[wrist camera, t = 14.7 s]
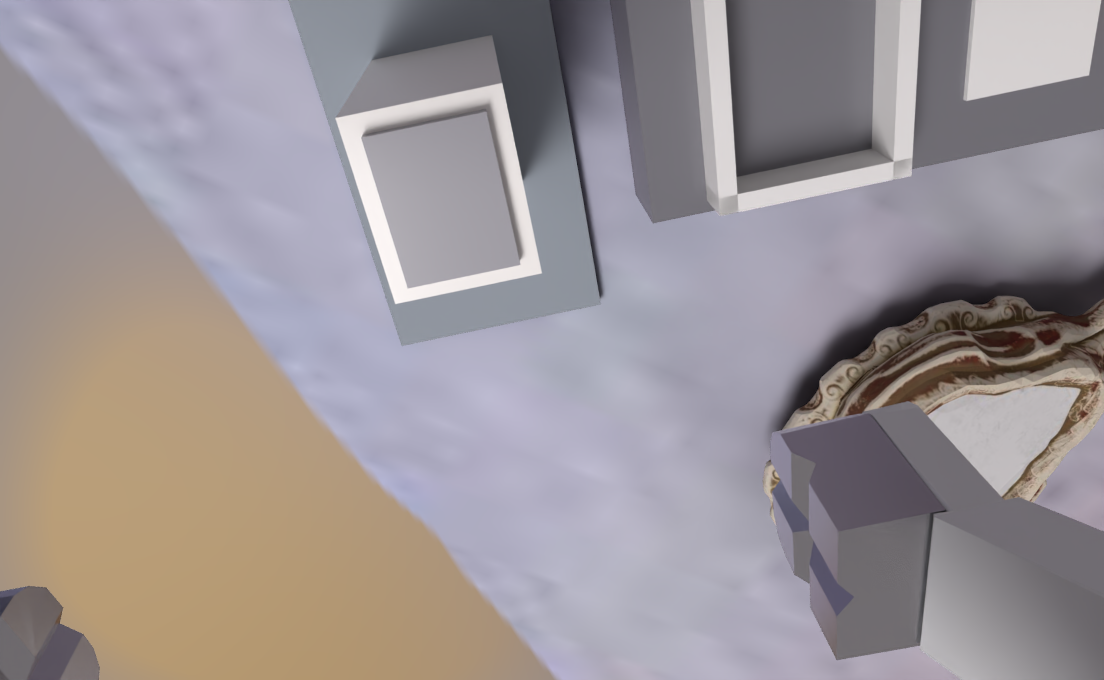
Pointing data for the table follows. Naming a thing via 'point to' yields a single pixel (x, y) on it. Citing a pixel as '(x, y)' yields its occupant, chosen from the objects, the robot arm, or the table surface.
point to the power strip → (842, 91)
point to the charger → (439, 170)
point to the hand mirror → (980, 385)
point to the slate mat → (538, 129)
